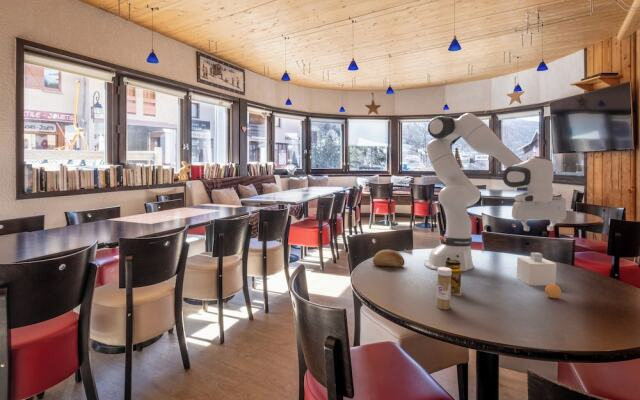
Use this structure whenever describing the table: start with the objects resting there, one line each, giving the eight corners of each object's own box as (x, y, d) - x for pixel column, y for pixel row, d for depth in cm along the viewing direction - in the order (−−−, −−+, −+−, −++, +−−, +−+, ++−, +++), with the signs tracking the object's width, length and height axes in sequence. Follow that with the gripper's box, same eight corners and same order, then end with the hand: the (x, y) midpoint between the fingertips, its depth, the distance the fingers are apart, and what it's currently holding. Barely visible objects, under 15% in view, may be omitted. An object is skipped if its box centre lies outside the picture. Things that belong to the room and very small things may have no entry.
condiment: (461, 295, 136) (463, 264, 135) (437, 293, 138) (438, 262, 137) (460, 289, 143) (461, 259, 141) (437, 287, 145) (438, 257, 144)
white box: (529, 285, 147) (530, 256, 146) (516, 277, 157) (517, 250, 156) (555, 285, 147) (556, 256, 146) (540, 277, 157) (542, 250, 156)
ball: (549, 300, 131) (550, 286, 130) (541, 295, 136) (542, 282, 135) (563, 300, 131) (564, 286, 130) (555, 295, 136) (556, 282, 135)
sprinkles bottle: (434, 307, 124) (435, 268, 123) (439, 303, 128) (440, 265, 127) (447, 311, 122) (448, 271, 120) (452, 306, 125) (453, 268, 124)
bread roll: (403, 270, 169) (403, 253, 168) (371, 267, 174) (371, 251, 173) (405, 264, 178) (405, 248, 177) (374, 262, 183) (374, 246, 182)
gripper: (561, 196, 151) (559, 229, 153) (510, 196, 152) (509, 229, 153) (571, 197, 145) (569, 231, 146) (518, 197, 146) (517, 232, 147)
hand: (538, 230), depth 150 cm, fingers open, 8 cm apart
